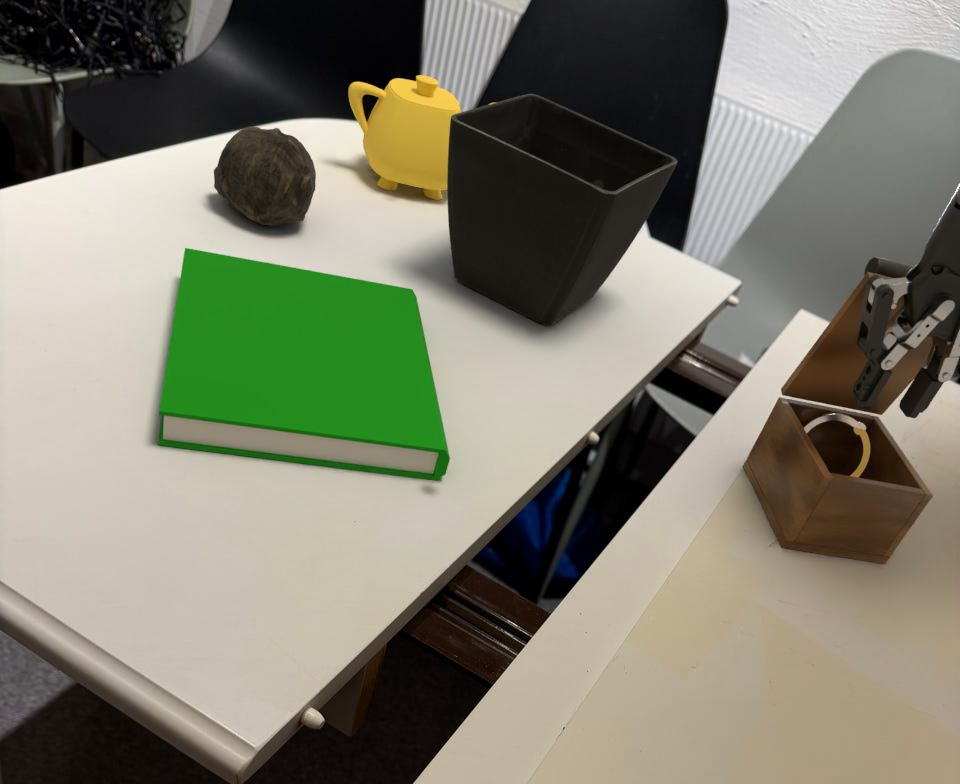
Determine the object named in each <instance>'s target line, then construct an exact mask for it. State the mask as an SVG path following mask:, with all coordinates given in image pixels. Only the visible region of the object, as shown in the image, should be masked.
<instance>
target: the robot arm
mask: <svg viewBox="0 0 960 784" xmlns="http://www.w3.org/2000/svg"><path fill="white" fill-rule="evenodd" d="M914 266H915V267H913V268H912V269H911V270H910V271H909V272H908V273H907V274H906V275H905V277H903V278H894V279H886V280H885V279H883V278H882V277H881V276H880V275H873V276H871V277H870V278H869V279H868V281H867V285H866V290H865V295H864V299H863V304H862V309H861V314H860V319H859V323H858V328H857V333H856V338H855V342H856V344H857V345H858V346H859V347H860V348H861V349H862V351H863V352H864V354H865V356H866V357H867V358H868V359H869V360H868V362H867V364H866V366H865V367H864V369H863V371H862V372H861V374H860V376H859V378H858V379H857V381H856V383H855V385H854V387H853V393H854V399H855V401H856V402H857V404H858V405H859V407H860V408H864V409H870V408H871V407H872V406H873V404H874V402H875V401H876V399H877V397H878V396H879V394H880V393H881V391H882V389H883V388H884V386H885V384H886V383H887V381H888V379H889V378H890V376H891V374H892V371H891V370H890V369H892V368H893V367H894V366H895V365H896V364H897V363H898V361H899V360H900V359H901V358H902V357H903V356H904V355H905V354H906V353H907V351H909V350H913V349H915V348H916V347H917V346H918V345H919V344H920V343H921V342H922V341H923V340H924V338H925V337H932V340H933V345H932V348H931V351H930V353H929V356H928V359H927V362H926V367H924V368H922V367H921V369H920V371H919V372H918V374H917V375H916V377H915V379H914V380H913V381H912V382H911V383H910V384H909V386H908V387H907V389H906V391H905V393H904V394H903V396H902V397H901V400H899V406H898V407H899V409H900V411H901V412H902V413H903V415H904V416H905V417H906V418H911V419H917V418H918V417H919V415H920V414H923V413H924V412H925V411H926V410H927V409H928V408H929V406H930V405H931V403H932V401H933V400H934V399H935V397H936V395H937V394H938V393H939V391H940V389H941V388H942V387H943V385H944V383H946V382H949V381H950V380H951V379H954V378H959V377H960V184H958V186H957V188H956V190H955V192H954V193H953V195H952V197H951V198H950V201H948V204H947V206H946V208H945V209H944V211H943V213H942V214H941V216H940V218H939V219H938V221H937V222H936V225H935V226H934V229H932V232H931V233H930V236H928V238H927V240H926V243H925V246H924V250H923V254H922V256H921V259H919V261H918V263H916V265H914ZM902 295H903V299H904V305H903V306H902V307H901V308H900V309H899V310H898V311H897V313H896V314H895V315H894V316H893V317H892V318H891V320H890V321H889V322H888V319H889V315H890V310H891V309H895V308H896V307H897V302H898V300H899V298H900V297H901V296H902ZM887 323H888V324H887ZM908 324H909V325H910V326H911V328H912V329H911V330H910V331H909V330H908V329H907V325H908ZM886 328H887V329H886Z"/></svg>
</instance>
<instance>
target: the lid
mask: <svg viewBox="0 0 960 784" xmlns="http://www.w3.org/2000/svg"><path fill="white" fill-rule="evenodd" d="M915 266H916V265H911V264H908V263H903V262H899V261H895V260H891V259H886V258H883V257H879V256H873V257H872V258H870V259H869V260H868V262H867V264H866V266H865V268H864V271H863V272H864V273H863V278H862V279H861V280H860V282H859V283H858V284H857V285H856V286H855V288H854V289H853V291H852V292H851V294H850V295H849V297H847V299H846V300H845V302H844V303H843V304H842V306H841V307H840V308H839V310H838V311H837V312H836V314H835V315H834V317H833V318H832V319H831V321H830V322H829V323H828V325H826V327H825V329H824V330H823V331H822V332H821V334H820V335H819V337H818V338H817V340H815V342H814V343H813V345H812V346H811V347H810V349H809V350H808V352H807V353H806V354H805V356H804V357H803V358H802V360H801V361H800V362H799V364H798V365H797V366H796V368H795V369H794V371H792V373H791V374H790V376H789V378H787V380H786V381H785V383H784V384H783V385H782V387H781V388H780V393H781V396H783V397H789V398H794V399H799V400H805V401H808V402H814V403H819V404H825V405H829V406H835V407H840V408H845V409H848V410H849V409H850V410H855V411H859V412H863V413H869V414H875V415H879V416H883V415H884V413H886V411H887V410H888V408H890V406H892V405H893V403H894V402H895V401H896V400H897V399H898V398H899V396H901V394H902V393H903V392H904V391H905V390H907V389H908V387H909V386H910V385H911V383H912V382H913V380H914V379H915V377H916V375H917V374H918V372H919V371H920V369H921V367H922V368H926V367H927V365H926V362H927V359H928V356H929V353H930V351H931V348H932V345H933V340H932V337H925V338H924V340H923V341H922V342H921V343H920V344H919V345H918V346H917V347H916V348H915V349H913V350H909V351H907V353H906V354H905V355H904V356H903V357H902V358H901V359H900V360H899V361H898V363H897V364H896V365H895V366H894V367H893V368H892V369H890V370H891V371H892V374H891V376H890V378H889V379H888V381H887V383H886V384H885V386H884V388H883V389H882V391H881V393H880V394H879V396H878V397H877V399H876V401H875V402H874V404H873V406H872V407H871V408H870V409H864V408H860V407H859V405H858V404H857V402H856V401H855V399H854V393H853V387H854V385H855V383H856V381H857V379H858V378H859V376H860V374H861V372H862V371H863V369H864V367H865V366H866V364H867V362H868V360H869V359H868V358H867V357H866V356H865V354H864V352H863V351H862V349H861V348H860V347H859V346H858V345H857V344H856V342H855V338H856V333H857V328H858V323H859V319H860V314H861V309H862V304H863V299H864V295H865V290H866V285H867V281H868V279H869V278H870V277H871V276H873V275H880V276H881V277H882V278H883V279H885V280H886V279H894V278H903V277H905V275H906V274H907V273H908V272H909V271H910V270H911V269H912V268H913V267H915ZM903 305H904V299H903V295H902V296H901V297H900V298H899V300H898V302H897V307H896V308H895V309H891V310H890V315H889V319H888V322H889V321H890V320H891V318H892V317H893V316H894V315H895V314H896V313H897V311H898V310H899V309H900V308H901V307H902V306H903ZM887 324H888V323H887ZM886 329H887V328H886ZM907 329H908V330H909V331H910V330H911V329H912V328H911V326H910V325H909V324H908V325H907Z"/></svg>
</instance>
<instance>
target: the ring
mask: <svg viewBox="0 0 960 784" xmlns="http://www.w3.org/2000/svg"><path fill="white" fill-rule="evenodd" d="M831 420H838V421H842V422H845V423H847V424H848V425H850V426H851V430H852V432H853V433H855V434H857V435H859V438H860V441H861V455H860V459H859V461H858V463H857V465H856V467H855V468H854V469H853V470H852V471H851V472H850V473H849V474H848V475H847V476H852V477H857V478H858V477H859V476H860V475H861V474H862V472H863V471H864V469H865V467H866V465H867V463H868V460H869V456H870V441H869V437H868V435H867V433H866V431H865V430H866V426H865V425H864V424H863V423H861V422H857V421H856V420H855V419H853V418H851V417H849V416H847V415H844V414H839V413H827V414H822V415H819V416H816V417H814V418H812V419H810V420H809V421H807V422H806V423H805V424H803V425H802V426H803V428H804V430H805V431H806V433H808V432H809V431H810V430H811V429H812V428H813V427H814V426H816V425H818V424H820V423H822V422H825V421H831Z"/></svg>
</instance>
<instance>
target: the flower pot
mask: <svg viewBox="0 0 960 784" xmlns="http://www.w3.org/2000/svg"><path fill="white" fill-rule="evenodd" d="M492 103H493V104H491V103H488V104H485V105H483V106H479V107H477V108H472V109H469V110H468V109H467V110H464V111H461V113H458V114H454V115H452V116H451V121H450V132H449V148H448V175H447V190H446V191H447V192H446V193H447V195H446V196H447V219H448V220H447V221H448V232H449V233H448V234H449V244H450V252H451V262H452V268H453V275H454V278H455V279H456V280H457V282H460V283H461V284H464V285H466V286H467V287H469V288H471V289H473V290H475V291H477V292H478V293H481V294H483V295H484V296H486V297H488V298H490V299H492V300H494V301H496V302H498V303H500V304H502V305H504V306H505V307H507V308H510V309H511V310H514V311H515V312H517V313H519V314H521V315H523V316H524V317H527V318H529V319H531V320H533V321H535V322H537V323H539V324H540V325H545V326H551V325H554V324H555V323H557V322H558V321H559V320H561V319H562V318H564V317H565V316H567V315H568V314H570V313H572V312H573V311H575V310H576V309H577V308H579V307H580V306H582V305H583V304H585V303H586V302H589V301H590V300H591V299H593V297H594V296H595V295H596V294H597V293H598V291H599V290H600V289H601V287H602V286H603V285H604V284H605V282H606V281H607V279H608V278H609V277H610V275H611V274H612V272H613V271H614V270H615V268H616V267H617V265H618V264H619V263H620V261H621V260H622V258H623V257H624V256H625V254H626V253H627V251H628V250H629V248H630V247H631V245H632V243H634V240H635V239H636V237H637V236H638V234H639V232H640V231H641V229H642V227H643V226H644V224H645V223H646V221H647V219H648V218H649V216H650V214H651V212H652V211H653V209H654V208H655V206H656V204H657V202H658V200H659V199H660V197H661V195H662V193H663V191H664V190H665V187H666V186H667V184H668V182H669V180H670V178H671V176H672V174H673V173H674V170H675V168H676V166H677V164H678V160H677V158H675V157H674V156H673V155H670V154H668V153H665V152H664V151H662V150H660V149H657V148H655V147H653V146H651V145H648V144H646V143H644V142H642V141H640V140H638V139H635V138H633V137H632V136H629V135H627V134H625V133H623V132H620V131H618V130H616V129H614V128H611V127H610V126H607V125H605V124H603V123H601V122H598V121H596V120H594V119H592V118H590V117H587V116H585V115H583V114H581V113H578V112H577V111H574V110H572V109H570V108H567V107H566V106H563V105H561V104H558V103H557V102H554V101H552V100H550V99H548V98H545V97H543V96H542V95H541V96H540V95H538V94H534V93H527V94H522V95H518V96H514V97H511V98H508V99H504V100H501V101H497V103H495V102H492Z"/></svg>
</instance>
